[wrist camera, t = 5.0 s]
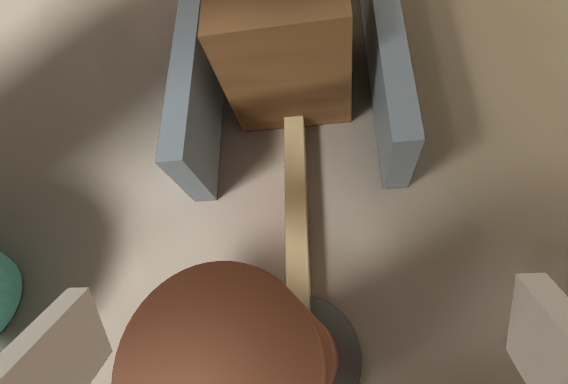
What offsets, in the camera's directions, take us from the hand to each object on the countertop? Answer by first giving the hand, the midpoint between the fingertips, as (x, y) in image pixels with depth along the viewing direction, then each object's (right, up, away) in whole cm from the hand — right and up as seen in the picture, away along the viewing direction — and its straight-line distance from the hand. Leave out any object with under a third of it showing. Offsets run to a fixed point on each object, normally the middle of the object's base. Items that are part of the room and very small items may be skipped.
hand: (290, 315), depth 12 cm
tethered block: (0, +4, +7) cm, 8 cm away
